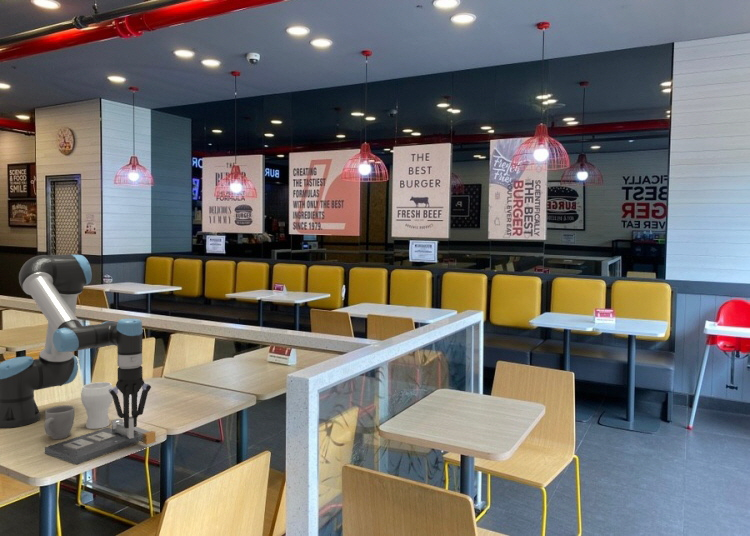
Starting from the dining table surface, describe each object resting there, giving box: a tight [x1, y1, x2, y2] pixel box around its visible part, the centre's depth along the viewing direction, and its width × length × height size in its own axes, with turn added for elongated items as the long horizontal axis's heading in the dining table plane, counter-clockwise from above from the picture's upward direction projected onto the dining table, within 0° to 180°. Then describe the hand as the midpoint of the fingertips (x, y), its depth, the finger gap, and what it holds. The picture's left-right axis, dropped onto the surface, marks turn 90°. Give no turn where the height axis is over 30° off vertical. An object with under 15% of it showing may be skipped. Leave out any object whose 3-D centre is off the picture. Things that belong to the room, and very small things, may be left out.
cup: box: [80, 381, 114, 430], centre depth 207 cm, size 11×11×15 cm
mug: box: [43, 405, 75, 440], centre depth 194 cm, size 12×9×10 cm
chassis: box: [44, 427, 140, 465], centre depth 186 cm, size 17×22×2 cm
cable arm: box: [111, 418, 156, 445], centre depth 190 cm, size 22×4×4 cm, turn 54°
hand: (130, 437), depth 187 cm, fingers closed
